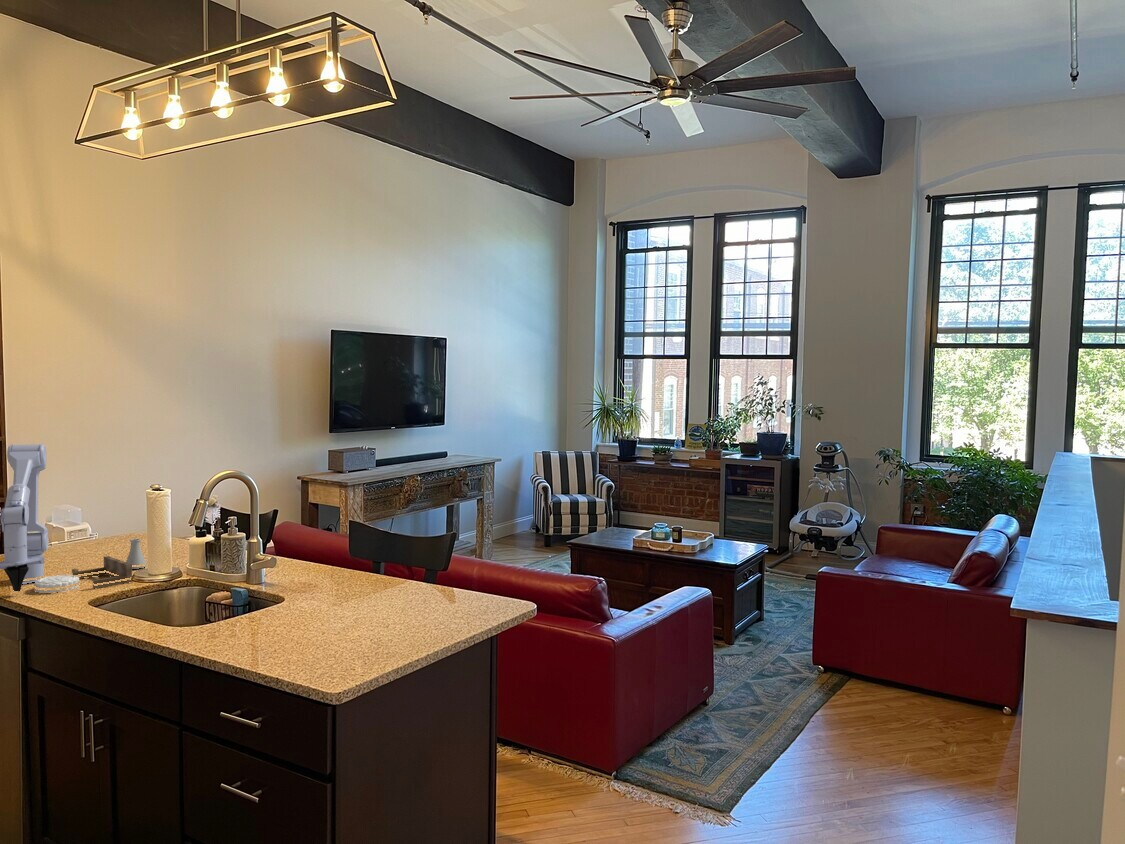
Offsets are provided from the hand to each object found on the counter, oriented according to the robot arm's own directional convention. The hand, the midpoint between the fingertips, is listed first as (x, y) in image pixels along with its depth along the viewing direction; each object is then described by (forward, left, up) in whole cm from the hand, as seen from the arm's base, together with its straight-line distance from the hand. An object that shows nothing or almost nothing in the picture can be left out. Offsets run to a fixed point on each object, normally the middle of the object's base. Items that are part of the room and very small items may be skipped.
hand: (16, 591), depth 248 cm
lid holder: (0, +24, -1) cm, 24 cm away
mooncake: (0, +11, -2) cm, 11 cm away
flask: (-11, +39, -2) cm, 40 cm away
